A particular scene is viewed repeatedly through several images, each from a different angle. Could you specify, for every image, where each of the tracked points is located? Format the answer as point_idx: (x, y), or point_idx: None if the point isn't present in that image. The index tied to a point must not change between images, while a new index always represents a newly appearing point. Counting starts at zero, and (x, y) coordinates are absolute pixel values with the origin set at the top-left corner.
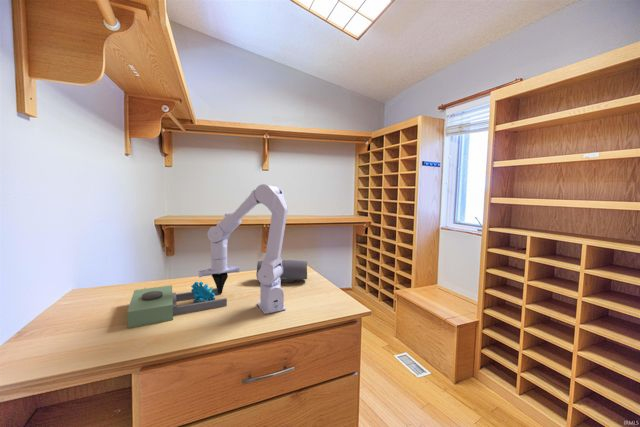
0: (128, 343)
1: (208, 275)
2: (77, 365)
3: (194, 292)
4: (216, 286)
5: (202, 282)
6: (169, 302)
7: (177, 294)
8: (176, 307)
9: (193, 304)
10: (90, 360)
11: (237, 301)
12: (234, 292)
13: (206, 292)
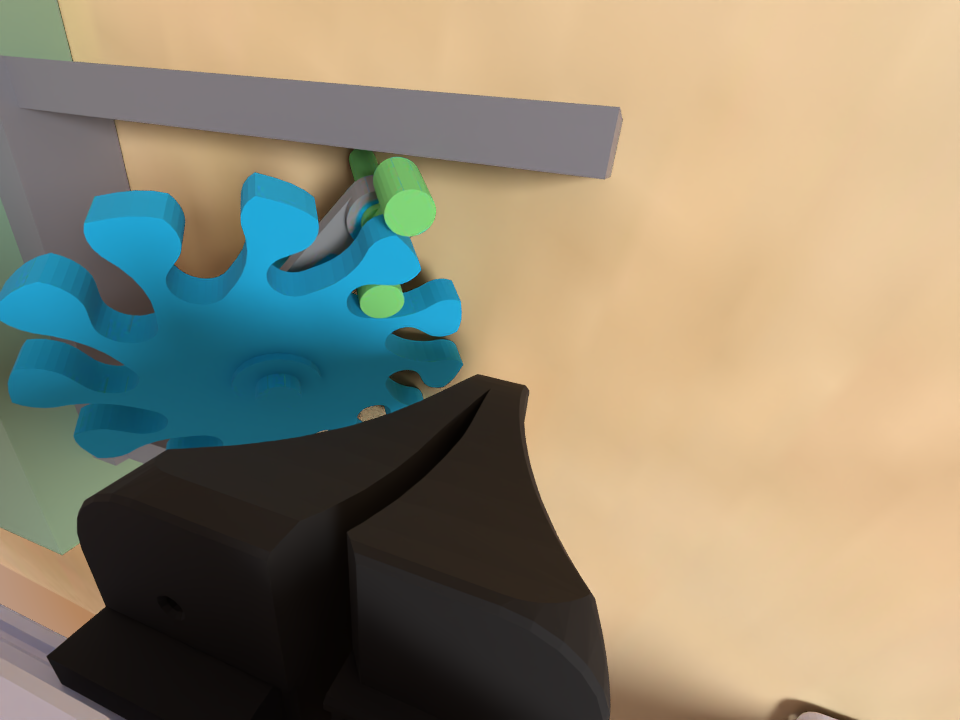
0: (78, 544)
1: (31, 649)
2: (9, 558)
3: (152, 419)
4: (425, 406)
5: (144, 219)
6: (23, 503)
7: (27, 95)
8: (125, 458)
9: None
10: (25, 558)
11: (676, 527)
12: (853, 212)
13: (312, 380)
